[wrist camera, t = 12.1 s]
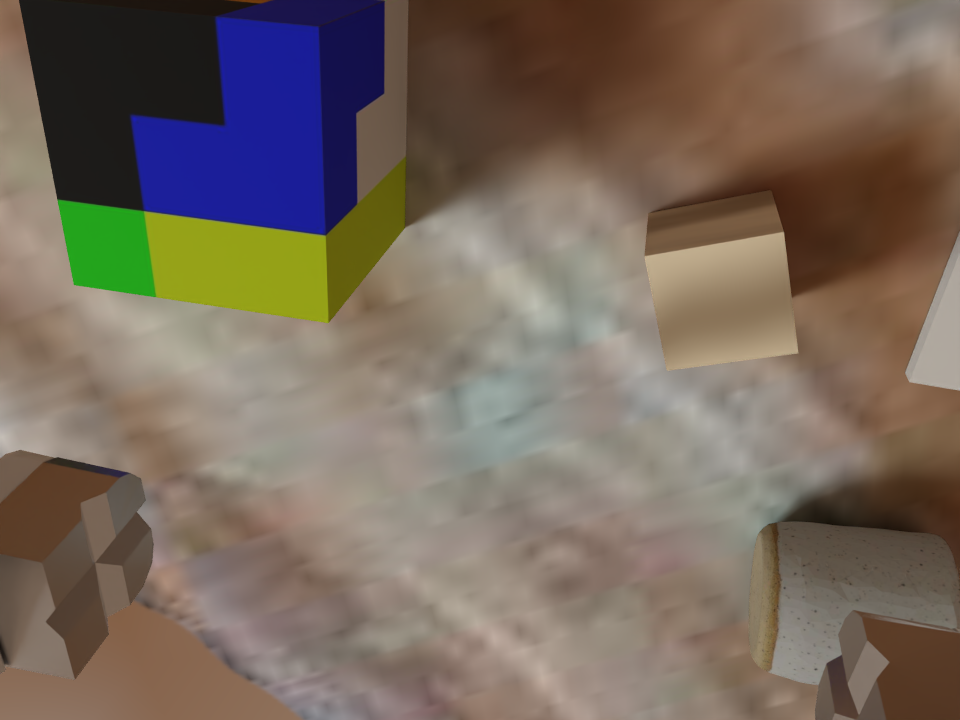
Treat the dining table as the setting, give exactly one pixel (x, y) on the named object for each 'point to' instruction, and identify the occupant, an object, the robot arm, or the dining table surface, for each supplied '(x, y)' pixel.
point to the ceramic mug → (840, 589)
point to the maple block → (720, 281)
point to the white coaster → (940, 333)
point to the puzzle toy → (225, 145)
